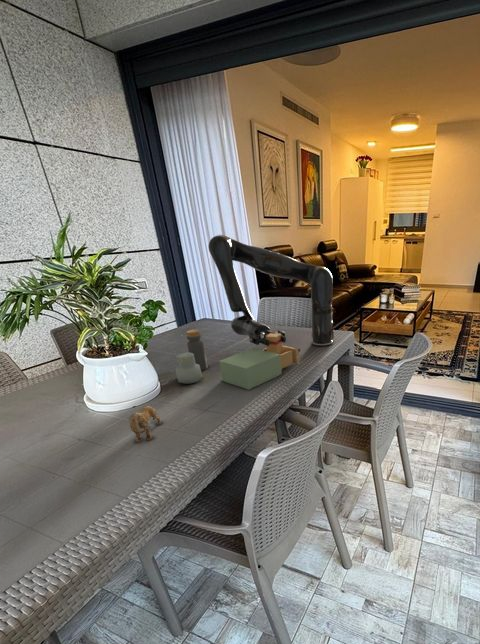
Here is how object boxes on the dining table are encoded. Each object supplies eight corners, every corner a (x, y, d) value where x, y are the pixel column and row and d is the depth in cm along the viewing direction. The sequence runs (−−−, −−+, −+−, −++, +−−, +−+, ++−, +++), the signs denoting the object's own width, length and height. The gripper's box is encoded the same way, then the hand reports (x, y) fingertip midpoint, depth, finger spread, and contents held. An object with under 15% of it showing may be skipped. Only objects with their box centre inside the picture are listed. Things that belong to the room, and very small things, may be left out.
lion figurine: (154, 446, 91) (145, 416, 87) (132, 449, 90) (122, 419, 86) (163, 419, 103) (155, 391, 99) (143, 422, 102) (135, 394, 98)
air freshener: (203, 384, 126) (198, 357, 121) (179, 388, 123) (173, 361, 118) (200, 373, 135) (195, 348, 130) (178, 377, 132) (171, 352, 127)
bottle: (210, 365, 142) (203, 329, 135) (204, 371, 137) (197, 333, 130) (196, 365, 143) (188, 329, 136) (190, 370, 138) (181, 333, 131)
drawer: (283, 354, 149) (282, 340, 147) (306, 359, 142) (305, 345, 140) (247, 368, 135) (245, 354, 133) (271, 375, 129) (269, 360, 126)
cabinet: (256, 366, 140) (254, 348, 136) (281, 374, 132) (280, 354, 128) (222, 381, 128) (219, 360, 124) (248, 389, 120) (245, 368, 117)
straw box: (272, 352, 139) (270, 333, 135) (282, 353, 138) (281, 333, 134) (267, 356, 135) (265, 336, 131) (278, 357, 134) (276, 337, 130)
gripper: (240, 325, 139) (257, 335, 127) (273, 320, 146) (292, 328, 133) (243, 344, 143) (260, 355, 130) (275, 337, 149) (294, 347, 137)
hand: (276, 341), depth 132 cm, fingers closed on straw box, 6 cm apart
